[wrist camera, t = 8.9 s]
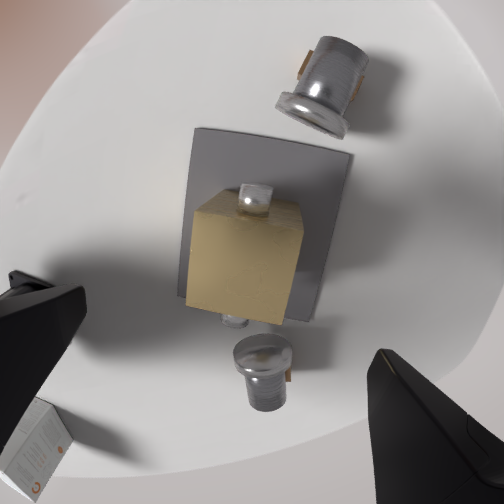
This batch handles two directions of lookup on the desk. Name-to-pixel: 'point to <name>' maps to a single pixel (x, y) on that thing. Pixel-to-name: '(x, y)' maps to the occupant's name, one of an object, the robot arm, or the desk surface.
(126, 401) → the desk surface
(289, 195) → the mat
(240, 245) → the coupler
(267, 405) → the shaft
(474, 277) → the desk surface
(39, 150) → the desk surface
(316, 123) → the shaft
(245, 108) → the desk surface
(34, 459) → the small box
